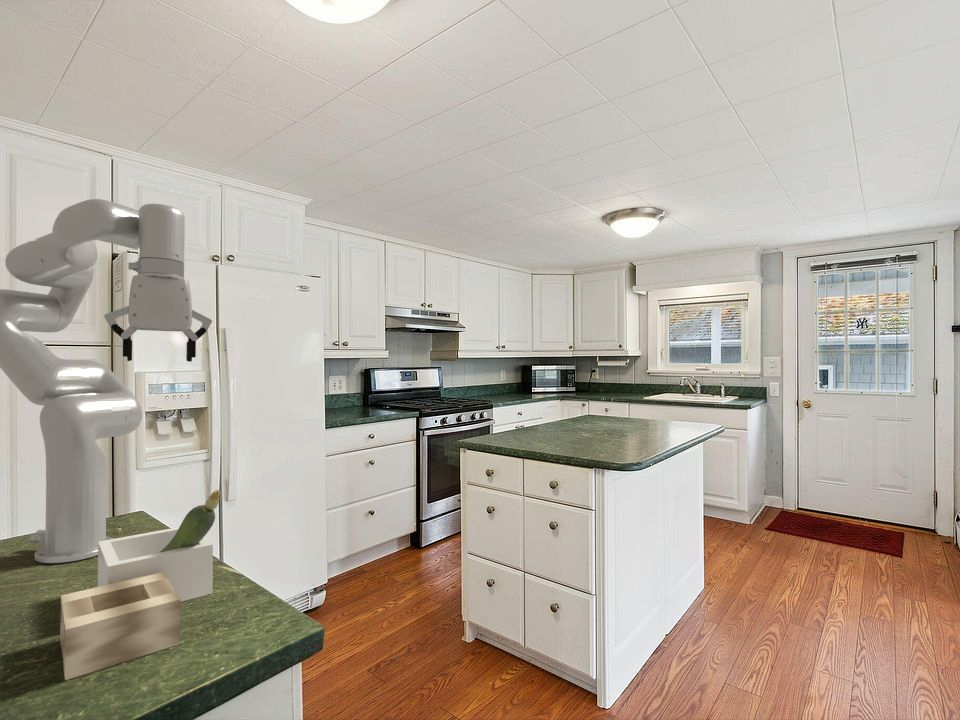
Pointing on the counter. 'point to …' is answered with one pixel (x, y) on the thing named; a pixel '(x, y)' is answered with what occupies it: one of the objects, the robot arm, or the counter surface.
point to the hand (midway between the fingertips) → (160, 361)
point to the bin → (158, 562)
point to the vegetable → (195, 524)
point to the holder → (118, 623)
